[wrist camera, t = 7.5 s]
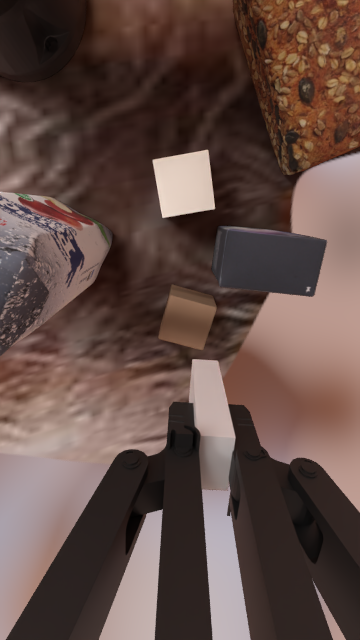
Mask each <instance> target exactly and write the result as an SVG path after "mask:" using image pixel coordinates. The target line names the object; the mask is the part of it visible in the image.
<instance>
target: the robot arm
mask: <svg viewBox="0 0 360 640" xmlns="http://www.w3.org/2000/svg"><path fill="white" fill-rule="evenodd" d="M85 20H86V0H0V76H2V77H5V78H7V79H10V80H14V81H20V82H33V81H39V80H42V79H45V78H48V77H50V76H52V75H54V74H55V73H57V72H58V71H59V70H61V69H62V68H63V67H64V66H65V65H66V64H67V63H68V62H69V60H70V59H71V58H72V56H73V55H74V53H75V51H76V49H77V47H78V45H79V43H80V40H81V38H82V34H83V30H84V26H85ZM229 484H230V490H231V492H230V498H229V505H228V512H227V516H230V512H231V516H232V522H233V528H234V535H235V541H236V548H237V554H238V560H239V567H240V573H241V580H242V586H243V593H244V599H245V606H246V612H247V618H248V625H249V631H250V638H251V640H333V638H332V636H331V633H330V630H329V627H328V624H327V621H326V618H325V615H324V612H323V610H322V607H321V604H320V601H319V598H318V595H317V593H316V589H315V586H314V584H313V581H314V583H315V585H316V587H317V588H318V590H319V592H320V594H321V596H322V597H323V599H324V601H325V603H326V605H327V606H328V608H329V610H330V612H331V613H332V615H333V617H334V619H335V621H336V623H337V624H338V626H339V628H340V630H341V631H342V633H343V635H344V637H345V639H346V640H360V513H359V511H358V510H357V509H356V508H355V506H354V505H353V504H352V503H351V502H350V501H349V499H348V498H347V497H346V496H345V494H344V493H343V492H342V491H341V490H340V489H339V487H338V486H337V485H336V484H335V483H334V481H333V480H332V479H331V478H330V476H329V475H328V474H327V473H326V472H325V470H324V469H323V468H322V467H321V466H320V465H318V464H317V463H316V462H314V461H312V460H310V459H306V458H296V459H294V460H293V461H292V462H291V463H290V465H289V464H286V463H282V462H279V461H276V460H274V459H272V458H271V457H270V456H269V454H268V452H267V451H266V450H265V449H264V448H263V447H261V445H260V442H259V439H258V436H257V433H256V430H255V427H254V424H253V421H252V418H251V415H250V412H249V411H248V409H247V408H246V407H245V406H244V405H231V404H228V402H227V398H226V394H225V390H224V385H223V381H222V376H221V372H220V368H219V363H218V361H215V360H198V359H192V370H191V382H190V394H189V403H184V402H173V404H172V405H171V406H170V407H169V419H168V433H167V444H166V447H165V448H164V450H162V451H161V452H160V453H158V454H155V455H152V456H147V455H146V454H145V453H144V452H142V451H139V450H134V449H130V450H125V451H123V452H121V453H119V454H118V455H117V457H116V458H115V459H114V461H113V463H112V464H111V466H110V467H109V469H108V471H107V472H106V474H105V476H104V478H103V479H102V481H101V483H100V484H99V486H98V487H97V489H96V491H95V492H94V494H93V496H92V498H91V499H90V501H89V502H88V504H87V506H86V508H85V509H84V511H83V513H82V514H81V516H80V517H79V519H78V521H77V522H76V524H75V526H74V527H73V529H72V531H71V533H70V534H69V536H68V537H67V539H66V541H65V542H64V544H63V546H62V547H61V549H60V551H59V552H58V554H57V556H56V557H55V559H54V561H53V562H52V564H51V566H50V567H49V569H48V571H47V572H46V574H45V576H44V577H43V579H42V581H41V583H40V584H39V586H38V587H37V589H36V591H35V592H34V594H33V596H32V597H31V599H30V601H29V602H28V604H27V606H26V607H25V609H24V611H23V612H22V614H21V616H20V617H19V619H18V621H17V622H16V624H15V626H14V627H13V629H12V630H11V632H10V634H9V635H8V637H7V639H6V640H99V637H100V635H101V632H102V629H103V627H104V624H105V622H106V619H107V616H108V614H109V611H110V609H111V606H112V603H113V601H114V598H115V596H116V593H117V590H118V588H119V585H120V582H121V580H122V577H123V575H124V572H125V570H126V567H127V564H128V562H129V559H130V557H131V554H132V551H133V549H134V546H135V543H136V541H137V538H138V536H139V533H140V530H141V528H142V525H143V523H144V520H145V518H146V514H147V513H150V512H154V511H157V510H162V509H163V514H162V530H161V546H160V563H159V579H158V596H157V611H156V627H155V640H212V626H211V612H210V599H209V584H208V571H207V556H206V543H205V528H204V514H203V502H202V489H208V490H228V485H229ZM312 580H313V581H312Z"/></svg>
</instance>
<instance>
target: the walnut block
mask: <svg viewBox="0 0 360 640" xmlns="http://www.w3.org/2000/svg"><path fill="white" fill-rule="evenodd" d="M216 309H217V306H216V304H215V301H214V298H213V296H212V295H208V294H205V293H201V292H197V291H194V290H190V289H187V288H183V287H179V286H176V285H172V286H171V289H170V293H169V297H168V300H167V304H166V307H165V311H164V315H163V318H162V322H161V326H160V331H159V336H158V339H161V340H165V341H169V342H172V343H176V344H180V345H184V346H188V347H192V348H195V349H199V350H203V348H204V345H205V342H206V339H207V336H208V333H209V330H210V327H211V324H212V321H213V318H214V315H215V312H216Z"/></svg>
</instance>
